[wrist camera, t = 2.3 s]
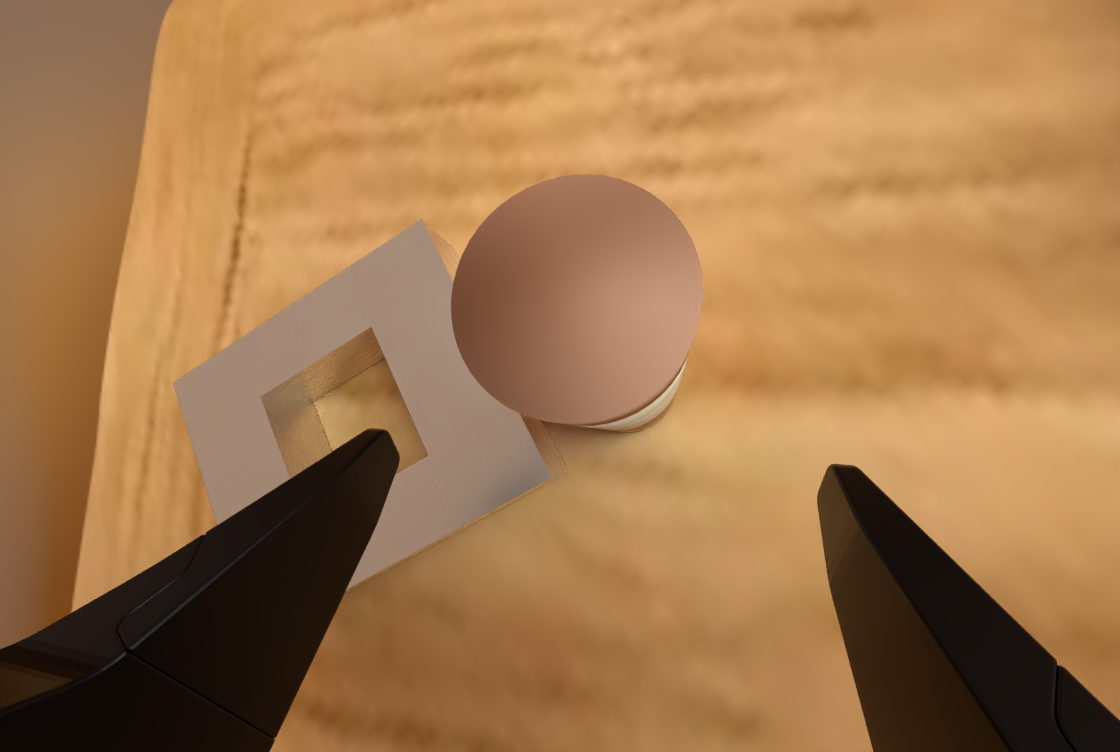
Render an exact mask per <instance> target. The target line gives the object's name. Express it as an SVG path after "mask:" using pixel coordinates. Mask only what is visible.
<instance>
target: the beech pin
mask: <svg viewBox="0 0 1120 752" xmlns="http://www.w3.org/2000/svg"><path fill="white" fill-rule="evenodd" d="M702 303H703V280H702V271H701V266H700V262H699V257H698V254H697V252H696V249H695V246H694V244H693V241H692V239H691V237H690V236H689V234H688V232H687V230H686V229H685V227H684V225H683V224H682V223H681V221H680V220H679V219H678V218H677V216H676V215H675V214H674V213H673V212H672V211H671V210H670V209H669V208H668V207H667V206H666V205H665V204H664V203H663V202H662V201H661V200H659V199H658V198H656V197H655V196H654V195H652V194H651V193H650V192H648V191H646V190H644V189H642V188H640V187H638V186H636V185H634V184H632V183H629V182H626V181H623V180H621V179H616V178H612V177H607V176H600V175H589V174H587V175H570V176H564V177H558V178H554V179H550V180H547V181H543V182H540V183H538V184H536V185H533V186H531V187H529V188H526V189H525V190H523V191H521V192H519V193H518V194H516V195H514V196H512V197H511V198H510V199H508V200H507V201H506V202H504V203H503V204H501V205H500V206H499V207H498V208H497V209H496V210H495V211H494V212H493V213H491V214H490V215H489V216H488V217H487V219H486V220H485V221H484V222H483V223H482V224H481V225H480V227H479V228H478V229H477V231H476V232H475V234H474V235H473V237H472V238H471V239H470V241H469V243H468V245H467V247H466V249H465V251H464V252H463V254H462V257H461V259H460V262H459V265H458V267H457V270H456V274H455V278H454V282H453V288H452V296H451V318H452V326H453V332H454V336H455V340H456V343H457V346H458V349H459V351H460V354H461V356H462V359H463V360H464V362H465V364H466V366H467V367H468V369H469V371H470V373H471V374H472V375H473V376H474V378H475V379H476V380H477V382H478V383H479V384H480V385H481V386H482V387H483V388H484V389H485V390H486V391H487V392H488V393H489V394H490V395H491V396H492V397H494V398H495V399H496V400H498V401H499V402H500V403H502V404H503V405H505V406H507V407H508V408H510V409H512V410H514V411H516V412H518V413H520V414H523V415H525V416H528V417H531V418H534V419H538V420H542V421H547V422H553V423H560V424H567V425H575V426H582V427H589V428H597V429H604V430H612V431H619V432H637V431H641V430H645V429H647V428H649V427H651V426H653V425H655V424H656V423H658V422H659V421H660V420H661V419H662V418H663V417H664V416H665V415H666V414H667V412H668V411H669V409H670V407H671V405H672V403H673V400H674V397H675V394H676V391H677V388H678V385H679V382H680V379H681V376H682V373H683V370H684V367H685V364H686V361H687V358H688V355H689V352H690V349H691V346H692V343H693V340H694V337H695V334H696V331H697V328H698V325H699V321H700V316H701V311H702Z"/></svg>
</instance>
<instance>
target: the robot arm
mask: <svg viewBox="0 0 1120 752" xmlns="http://www.w3.org/2000/svg"><path fill="white" fill-rule="evenodd" d="M399 460H400V457H399V452H398V450H397V448H396V446H395V444H394V442H393V440H392V438H391V436H390V434H389V432H388V431H387V430H384V429H372V428H371V429H367V430H365V431H364V432H362V433H361V434H359V435H357V436H356V437H354V438H353V439H351V440H350V441H348V442H347V443H345V444H343V445H342V446H340V447H339V448H337V449H336V450H334V451H333V452H331V453H329V454H328V455H326V456H325V457H323V458H322V459H320V460H318V461H317V462H315V463H314V464H312V465H311V466H309V467H308V468H306V469H304V470H303V471H301V472H300V473H298V474H297V475H295V476H293V477H292V478H290V479H289V480H287V481H286V482H284V483H283V484H281V485H279V486H278V487H276V488H275V489H273V490H272V491H270V492H268V493H267V494H265V495H264V496H262V497H261V498H259V499H258V500H256V501H254V502H253V503H251V504H250V505H248V506H247V507H245V508H243V509H242V510H240V511H239V512H237V513H236V514H234V515H233V516H231V517H229V518H228V519H226V520H225V521H223V522H222V523H220V524H219V525H217V526H215V527H214V528H212V529H211V530H209V531H208V532H207V533H206V534H205V535H201V536H200V537H198V538H197V539H195V540H193V541H192V542H190V543H189V544H187V545H186V546H184V547H183V548H181V549H179V550H178V551H176V552H174V553H173V554H171V555H170V556H168V557H166V558H165V559H163V560H162V561H160V562H158V563H157V564H155V565H154V566H152V567H150V568H149V569H147V570H145V571H143V572H142V573H140V574H138V575H137V576H135V577H133V578H131V579H130V580H128V581H126V582H125V583H123V584H121V585H119V586H118V587H116V588H114V589H112V590H111V591H109V592H107V593H105V594H104V595H102V596H100V597H98V598H97V599H95V600H93V601H91V602H90V603H88V604H86V605H84V606H83V607H81V608H79V609H78V610H76V611H74V612H72V613H71V614H69V615H67V616H65V617H64V618H62V619H60V620H58V621H57V622H55V623H53V624H51V625H50V626H48V627H46V628H44V629H43V630H41V631H39V632H37V633H35V634H33V635H32V636H30V637H28V638H25V639H23V640H21V641H19V642H17V643H15V644H12V645H10V646H7V647H5V648H2V649H0V752H270V749H271V747H272V745H273V743H274V741H275V739H274V738H276V736H277V734H278V732H279V730H280V728H281V726H282V724H283V722H284V719H285V717H286V715H287V713H288V711H289V709H290V707H291V705H292V703H293V701H294V698H295V696H296V694H297V692H298V690H299V688H300V686H301V684H302V682H303V680H304V677H305V675H306V673H307V671H308V669H309V667H310V665H311V663H312V661H313V659H314V656H315V654H316V652H317V650H318V648H319V646H320V644H321V642H322V640H323V638H324V635H325V633H326V631H327V629H328V627H329V625H330V623H331V621H332V619H333V617H334V614H335V612H336V610H337V608H338V606H339V604H340V602H341V600H342V598H343V596H344V593H345V591H346V589H347V587H348V585H349V583H350V581H351V579H352V577H353V575H354V572H355V570H356V568H357V566H358V564H359V562H360V560H361V558H362V556H363V554H364V551H365V549H366V547H367V545H368V543H369V541H370V539H371V537H372V535H373V532H374V530H375V528H376V526H377V523H378V521H379V518H380V516H381V513H382V510H383V507H384V504H385V502H386V499H387V496H388V493H389V491H390V488H391V485H392V482H393V479H394V477H395V474H396V471H397V468H398V465H399ZM817 504H818V512H819V519H820V526H821V533H822V540H823V547H824V554H825V561H826V568H827V574H828V581H829V586H830V590H831V594H832V599H833V602H834V606H835V610H836V614H837V617H838V621H839V625H840V628H841V632H842V636H843V640H844V643H845V647H846V651H847V655H848V658H849V662H850V666H851V670H852V673H853V677H854V681H855V684H856V688H857V692H858V696H859V699H860V703H861V707H862V711H863V714H864V718H865V722H866V726H867V729H868V733H869V737H870V740H871V744H872V748H873V752H1120V720H1119V719H1118V718H1117V717H1116V716H1115V715H1114V714H1113V713H1111V712H1110V711H1109V710H1108V709H1107V708H1106V707H1105V706H1104V705H1103V704H1102V703H1101V702H1100V701H1099V700H1098V699H1097V698H1096V697H1094V696H1093V695H1092V694H1091V693H1090V692H1089V691H1088V690H1087V689H1086V688H1085V687H1084V686H1083V685H1082V684H1081V683H1080V682H1079V681H1078V680H1077V679H1076V678H1075V677H1074V676H1073V675H1072V674H1071V673H1070V672H1069V671H1068V670H1067V669H1066V668H1064V667H1063V666H1061V665H1057V661H1056V659H1055V658H1054V657H1053V656H1052V655H1051V654H1050V653H1049V652H1048V651H1047V650H1046V649H1045V648H1044V647H1043V646H1042V645H1041V644H1039V643H1038V642H1037V641H1036V640H1035V639H1034V638H1033V637H1032V636H1031V635H1030V634H1029V633H1028V632H1027V631H1026V630H1025V629H1024V628H1023V627H1022V626H1021V625H1020V624H1019V623H1018V622H1017V621H1016V620H1015V619H1014V618H1013V617H1012V616H1011V615H1010V614H1009V613H1008V612H1007V611H1005V610H1004V609H1003V608H1002V607H1001V606H1000V605H999V604H998V603H997V602H996V601H995V600H994V599H993V598H992V597H991V596H990V595H989V594H988V593H987V592H986V591H985V590H984V589H983V588H982V587H981V586H980V585H979V584H978V583H977V582H976V581H975V580H974V579H973V578H971V577H970V576H969V575H968V574H967V573H966V572H965V571H964V570H963V569H962V568H961V567H960V566H959V565H958V564H957V563H956V562H955V561H954V560H953V559H952V558H951V557H950V556H949V555H948V554H947V553H946V552H945V551H944V550H943V549H942V548H941V547H940V546H938V545H937V544H936V543H935V542H934V541H933V540H932V539H931V538H930V537H929V536H928V535H927V534H926V533H925V532H924V531H923V530H922V529H921V528H920V527H919V526H918V525H917V524H916V523H915V522H914V521H913V520H912V519H911V518H910V517H909V516H908V515H907V514H906V513H904V512H903V511H902V510H901V509H900V508H899V507H898V506H897V505H896V504H895V503H894V502H893V501H892V500H891V499H890V498H889V497H888V496H887V495H886V494H885V493H884V492H883V491H882V490H881V489H880V488H879V487H878V486H877V485H876V484H875V483H874V482H873V481H872V480H870V479H869V478H868V477H867V476H866V475H865V474H864V473H863V472H862V471H861V470H860V469H859V468H857V467H856V466H853V465H841V464H831V465H830V466H829V467H828V468H827V470H826V473H825V475H824V478H823V481H822V483H821V486H820V488H819V491H818V496H817Z"/></svg>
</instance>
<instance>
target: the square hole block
mask: <svg viewBox="0 0 1120 752" xmlns="http://www.w3.org/2000/svg"><path fill="white" fill-rule="evenodd" d="M459 262H460V260H459V258H458V256H457V254H456V252H455V250H454V248H453V247H452V246H451V245H450V244H448V243H447V242H446V241H445V240H444V239H443V238H442V237H441V236H440V235H439V234H437V233H436V232H435V231H434V230H433V229H432V228H431V227H430V226H429V225H428V224H426V223H425V222H424V221H423V220H422V219H421V220H419V221H418V222H416V223H415V224H413V225H412V226H410V227H409V228H407V229H406V230H404V231H403V232H401V233H400V234H398V235H397V236H395V237H394V238H392V239H391V240H389V241H388V242H386V243H385V244H383V245H381V246H380V247H378V248H377V249H375V250H374V251H372V252H371V253H369V254H368V255H366V256H365V257H363V258H362V259H360V260H359V261H357V262H356V263H354V264H353V265H351V266H350V267H348V268H347V269H345V270H343V271H342V272H340V273H339V274H337V275H336V276H334V277H333V278H331V279H330V280H328V281H327V282H325V283H324V284H322V285H321V286H319V287H318V288H316V289H315V290H313V291H312V292H310V293H309V294H307V295H306V296H304V297H302V298H301V299H299V300H298V301H296V302H295V303H293V304H292V305H290V306H289V307H287V308H286V309H284V310H283V311H281V312H280V313H278V314H277V315H275V316H274V317H272V318H271V319H269V320H268V321H266V322H265V323H263V324H261V325H260V326H258V327H257V328H255V329H254V330H252V331H251V332H249V333H248V334H246V335H245V336H243V337H242V338H240V339H239V340H237V341H236V342H234V343H233V344H231V345H230V346H228V347H227V348H225V349H223V350H222V351H220V352H219V353H217V354H216V355H214V356H213V357H211V358H210V359H208V360H207V361H205V362H204V363H202V364H201V365H199V366H198V367H196V368H195V369H193V370H192V371H190V372H189V373H187V374H186V375H184V376H182V377H181V378H179V379H178V380H176V381H175V382H173V384H174V388H175V391H176V394H177V397H178V400H179V404H180V407H181V410H182V413H183V416H184V420H185V423H186V426H187V429H188V432H189V436H190V439H191V442H192V445H193V448H194V452H195V455H196V458H197V461H198V464H199V468H200V471H201V474H202V477H203V480H204V484H205V487H206V490H207V493H208V496H209V500H210V503H211V506H212V509H213V512H214V516H215V519H216V522H217V525H219V524H220V523H222V522H223V521H225V520H226V519H228V518H229V517H231V516H233V515H234V514H236V513H237V512H239V511H240V510H242V509H243V508H245V507H247V506H248V505H250V504H251V503H253V502H254V501H256V500H258V499H259V498H261V497H262V496H264V495H265V494H267V493H268V492H270V491H272V490H273V489H275V488H276V487H278V486H279V485H281V484H283V483H284V482H286V481H287V480H289V479H290V478H292V477H293V476H295V475H297V474H298V473H300V472H301V471H303V470H304V469H306V468H308V467H309V466H311V465H312V464H314V463H315V462H317V461H318V460H320V459H322V458H323V457H325V456H326V455H328V454H329V453H331V452H332V451H331V449H330V446H329V444H328V441H327V439H326V436H325V433H324V431H323V428H322V426H321V423H320V421H319V418H318V415H317V413H316V410H315V408H314V405H313V403H312V402H313V401H315V400H316V399H318V398H320V397H321V396H323V395H325V394H326V393H328V392H329V391H331V390H333V389H334V388H336V387H338V386H339V385H341V384H342V383H344V382H346V381H347V380H349V379H350V378H352V377H354V376H355V375H357V374H359V373H360V372H362V371H363V370H365V369H367V368H368V367H370V366H371V365H373V364H375V363H376V362H378V361H380V360H381V359H383V358H384V357H385V359H386V361H387V363H388V365H389V368H390V370H391V372H392V375H393V377H394V379H395V381H396V384H397V386H398V388H399V390H400V393H401V395H402V397H403V399H404V402H405V404H406V406H407V409H408V411H409V413H410V415H411V418H412V420H413V422H414V424H415V427H416V429H417V431H418V433H419V436H420V438H421V440H422V443H423V445H424V447H425V449H426V452H427V454H428V456H426V457H425V458H423V459H421V460H419V461H418V462H416V463H414V464H412V465H411V466H409V467H407V468H406V469H404V470H402V471H400V472H399V473H397V474H395V477H394V479H393V482H392V485H391V488H390V491H389V493H388V496H387V499H386V502H385V504H384V507H383V510H382V513H381V516H380V518H379V521H378V523H377V526H376V528H375V530H374V532H373V535H372V537H371V539H370V541H369V543H368V545H367V547H366V549H365V551H364V554H363V556H362V558H361V560H360V562H359V564H358V566H357V568H356V570H355V572H354V575H353V577H352V579H351V581H350V583H349V585H348V587H347V589H346V591H345V593H346V592H348V591H349V590H351V589H353V588H355V587H357V586H359V585H360V584H362V583H364V582H366V581H368V580H370V579H371V578H373V577H375V576H377V575H379V574H381V573H383V572H384V571H386V570H388V569H390V568H392V567H394V566H395V565H397V564H399V563H401V562H403V561H405V560H406V559H408V558H410V557H412V556H414V555H416V554H418V553H419V552H421V551H423V550H425V549H427V548H429V547H430V546H432V545H434V544H436V543H438V542H440V541H441V540H443V539H445V538H447V537H449V536H451V535H453V534H454V533H456V532H458V531H460V530H462V529H464V528H465V527H467V526H469V525H471V524H473V523H475V522H476V521H478V520H480V519H482V518H484V517H486V516H488V515H489V514H491V513H493V512H495V511H497V510H499V509H500V508H502V507H504V506H506V505H508V504H510V503H511V502H513V501H515V500H517V499H519V498H521V497H523V496H524V495H526V494H528V493H530V492H532V491H534V490H535V489H537V488H539V487H541V486H543V485H545V484H546V483H548V482H550V481H552V480H554V479H556V478H557V477H559V476H561V475H563V474H565V473H567V472H568V470H567V468H566V466H565V464H564V462H563V460H562V458H561V456H560V454H559V452H558V450H557V448H556V446H555V444H554V442H553V441H552V439H551V437H550V435H549V433H548V431H547V429H546V427H545V425H544V423H543V421H542V420H538V419H534V418H531V417H528V416H525V415H523V414H520V413H518V412H516V411H514V410H512V409H510V408H508V407H507V406H505V405H503V404H502V403H500V402H499V401H498V400H496V399H495V398H494V397H492V396H491V395H490V394H489V393H488V392H487V391H486V390H485V389H484V388H483V387H482V386H481V385H480V384H479V383H478V382H477V380H476V379H475V378H474V376H473V375H472V374H471V373H470V371H469V369H468V367H467V366H466V364H465V362H464V360H463V359H462V356H461V354H460V351H459V349H458V346H457V343H456V340H455V336H454V332H453V326H452V318H451V296H452V288H453V282H454V278H455V274H456V270H457V267H458V265H459Z"/></svg>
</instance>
